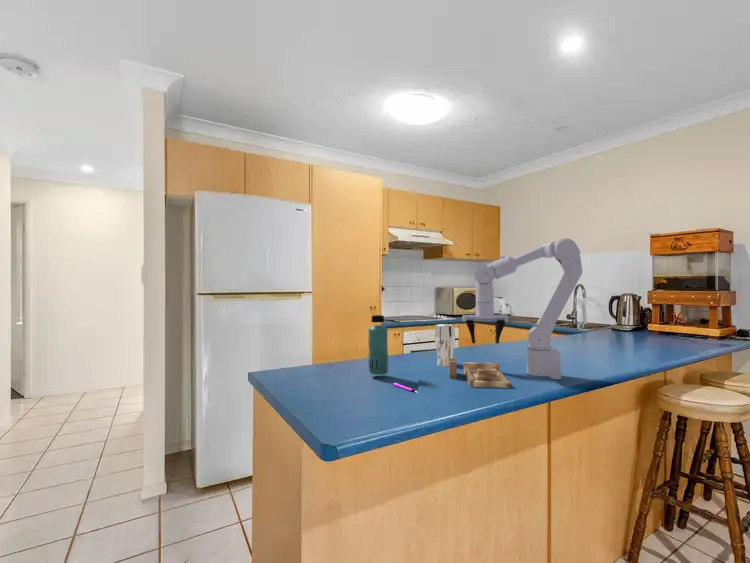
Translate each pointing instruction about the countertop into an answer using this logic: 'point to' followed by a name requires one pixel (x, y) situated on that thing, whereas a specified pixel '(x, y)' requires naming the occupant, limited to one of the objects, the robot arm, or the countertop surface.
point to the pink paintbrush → (403, 387)
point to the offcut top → (486, 372)
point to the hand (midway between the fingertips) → (485, 343)
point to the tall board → (452, 368)
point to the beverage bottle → (378, 347)
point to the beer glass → (444, 343)
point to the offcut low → (488, 378)
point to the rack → (471, 373)
